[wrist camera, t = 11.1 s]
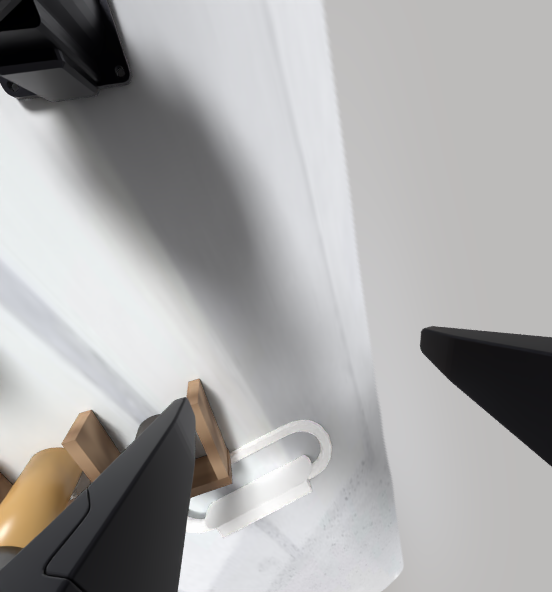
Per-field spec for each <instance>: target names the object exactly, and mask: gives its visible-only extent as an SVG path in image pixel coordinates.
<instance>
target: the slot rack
mask: <svg viewBox="0 0 552 592" xmlns="http://www.w3.org/2000/svg"><path fill="white" fill-rule="evenodd" d="M187 398H188V400H189V402H190V405H191V407H192V409H193V412H194V414H195V419H196V432H197V434H198V436H199V438H200V441H201V443H202V445H203V447H204V449H205V452H206V454H207V455H206V456H203V457H200V458H197V459H195V466H194V474H193V481H192V489H191V496H190V498H192V497H195V496H197V495H200V494H203V493H206V492H209V491H212V490H215V489H218V488H221V487H224V486H226V485H229V484H232V470H231V458H230V453H229V450H228V449H227V448H226V445H225V443H224V440H223V438H222V435H221V432H220V430H219V427H218V425H217V422H216V420H215V417H214V415H213V412H212V410H211V407H210V405H209V402H208V399H207V397H206V394H205V392H204V389H203V387H202V384H201V382H200V379H197V380H193V381H190V382H188V390H187ZM62 445H63V447H64V448H65V449H66V450H67V452H68V453H69V454H70V456H71V457H72V458H73V459H74V461H75V462H76V463H77V464H78V466H79V467H80V468H81V469H82V471H83V472H84V473H85V474H86V476H87V477H88V478H89V479H90V481H91V482H93V481H94V480H95V479H96V478H97V477H98V476H99V475H100V474H101V473H102V472H103V471H104V470H105V469H106V468H107V467H108V466H109V465H110V464H111V463H112V462H113V461H114V460H115V459H116V458H117V457H118V456H119V455H120V452H119V451H118V449H117V448H116V446H115V445H114V443H113V442H112V440H111V439H110V437H109V436H108V434H107V433H106V431H105V430H104V428H103V427H102V425H101V424H100V422H99V421H98V419H97V418H96V416H95V415H94V413H93V412H92V410H90V411H86V412H83V413H79V415H78V417H77V418H76V420H75V422H74V423H73V425H72V427H71V429H70V430H69V432H68V434H67V435H66V437H65V439H64V440H63V442H62ZM12 486H13V485H12V484H11V483H10V482H9V481H8V480H7V479H6V478H5V477H4V476H3V475H2V474H1V473H0V504H1V503H2V501H3V500H4V498H5V497H6V495H7V494H8V492H9V491H10V489H11V488H12ZM75 499H76V498H75ZM75 499H72V500H69V502H68V504H67V506H66V508H67V507H68V506H69V505H70V504H71V503H72V502H73V501H74V500H75ZM66 508H65V509H66Z"/></svg>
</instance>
